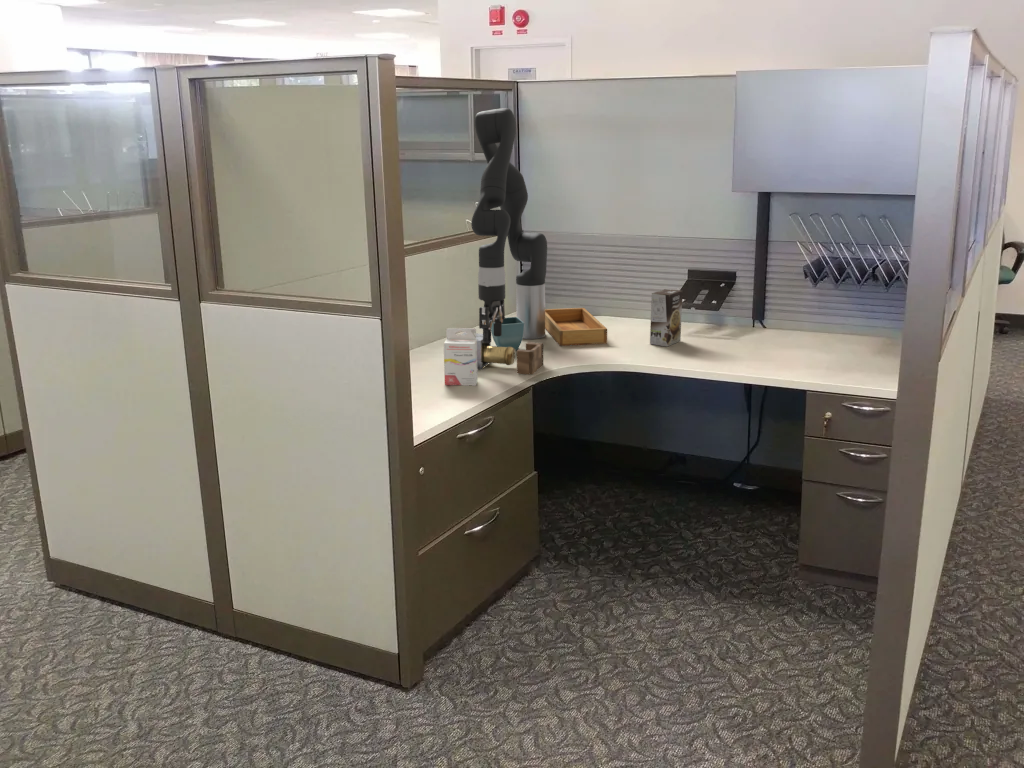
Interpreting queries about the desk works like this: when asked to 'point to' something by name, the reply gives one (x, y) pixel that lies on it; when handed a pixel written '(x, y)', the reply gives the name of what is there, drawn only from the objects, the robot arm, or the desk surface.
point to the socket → (530, 358)
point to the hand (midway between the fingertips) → (492, 339)
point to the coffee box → (666, 317)
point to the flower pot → (509, 333)
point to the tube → (498, 355)
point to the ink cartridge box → (460, 357)
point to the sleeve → (480, 350)
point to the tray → (574, 327)
